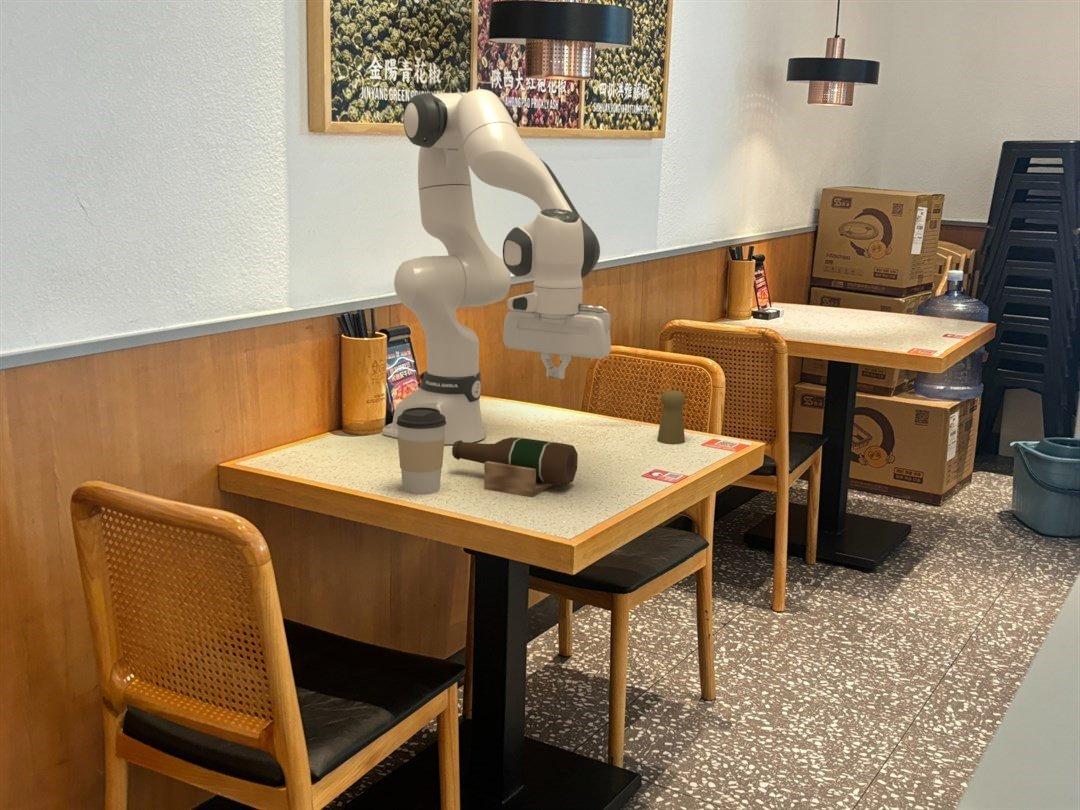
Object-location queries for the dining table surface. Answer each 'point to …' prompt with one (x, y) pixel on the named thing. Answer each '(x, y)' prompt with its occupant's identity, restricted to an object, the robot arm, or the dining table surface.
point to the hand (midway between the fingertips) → (555, 377)
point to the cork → (672, 418)
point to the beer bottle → (525, 457)
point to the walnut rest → (512, 479)
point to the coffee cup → (421, 449)
